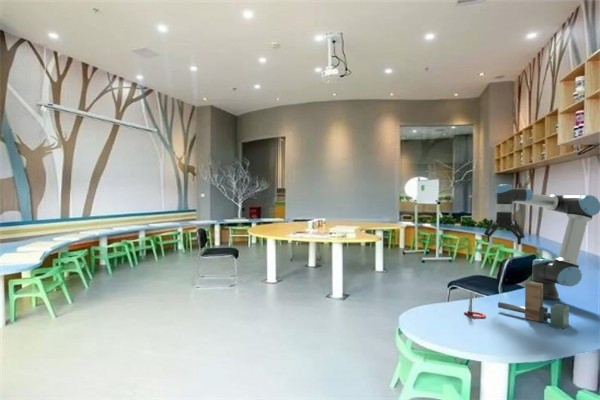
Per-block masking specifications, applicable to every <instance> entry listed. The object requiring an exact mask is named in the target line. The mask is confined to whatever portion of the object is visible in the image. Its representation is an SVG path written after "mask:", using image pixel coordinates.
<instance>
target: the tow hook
mask: <svg viewBox="0 0 600 400" xmlns="http://www.w3.org/2000/svg"><path fill="white" fill-rule="evenodd" d="M468 300H469V303H468V310H467V312H466V311H464V312H463V314H464V315H465V316H467V317H470V318H471V319H474V320H475V319H486V318H487V315H486V314H485V313H482V312H479V311H473V291H472V290H471V291H470V294H469V299H468Z"/></svg>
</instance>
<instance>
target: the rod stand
mask: <svg viewBox="0 0 600 400" xmlns="http://www.w3.org/2000/svg"><path fill="white" fill-rule="evenodd" d="M497 307H498V308H499V309H502V310H503V309H504V310H507V311H513V312H517V313H520V314H525V306H519V305H515V304H511V303H506V302H501V301H499V302H498V303H497ZM545 318H547V319H548V320H549V321H550V325H549V326H550V327H551V328H555V329H560V330H565V329H566V328H567V327H568V326H569V324H570V322H569V321H570V320H569V319H570V306H569V305H566V304H561V303H554V304H553V305H552V306H550V312H549V311H548V312H545Z"/></svg>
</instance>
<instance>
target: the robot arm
mask: <svg viewBox="0 0 600 400" xmlns="http://www.w3.org/2000/svg"><path fill="white" fill-rule="evenodd" d="M493 195H494V199H495V200H496V219H490V220H489V224H488V226H487V227H486V229H485V231H484V233H483V234H484V235H485V236H487V242H488V245H489V246H488V248H490V249H491V248H493V243H494V242H493V238H494V237H493V234H494V233H495V232H497V230H499V228H500V229H508V230H510V232H511V233H512V234H513V235H514V236H515V237H516V238H515V251H519V249H520V245H521V243H522V241H521V240H522V239H524V238H525V237H526V236H525V234H524V232H523V230H522V229H521V226H520V225H519V224H520V223H519V221H518V220H512V219H513V214H512V211H513V207H512V206H513V203H514V204H521V205H527V206H534V207H539V208H545V209H546V210H548V211H554V212H557V213H562V214H566V216H567V217H568V221H567V224H566V228H565V231H564V236H563V239H562V243H561V246H560V251H559V253H558V256H557V257H556V258H554V259H549V258H547V259H546V258H545V259H543V258H538V259H533V260H532V265H531V266H532V267H531V268H532V269H531V270H532V273H531V274H532V275H531V276H532V281H531V282H536V283H542V284H543V300H551V301H552V300H553V301H554V300H559V299H560V298H559V297H560V296H559V291H558V289H557V287H556V284H558V285H560V286H563V287H569V288H570V287H574V286H576V285H578V284H579V283H580V281H581V280H582V278H583V273H582V271H581V270H580V268H579V266H580V265H579V264H578V262H577V261H578V258H579V255H580V250H581V247H582V243H583V240H584V236H585V232H586V229H587V228H586V227H587V225H588V222H590V221H592V219H593V216H596V215H598V214H599V213H600V201H599V199H598V198H597V197H596V196H594V195H591V194H584V193H583V194H566V195H565V194H563V195H562V194H561V195H558V194H557V195H556V194H550V195H545V194H539V193H534V192H533V190H532V189H531V188H526V187H518V188H517V187H516V188H515V187H513V185H512V184H497V187H496V190H495V191H494V194H493ZM495 223H496V225H495V227H494V228H492V227H493V226H494V224H495ZM512 224H513V225H514V226H515V228H514V227H513V226H512ZM491 229H492V230H491ZM515 229H516V230H515Z"/></svg>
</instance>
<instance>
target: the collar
mask: <svg viewBox="0 0 600 400" xmlns="http://www.w3.org/2000/svg"><path fill="white" fill-rule="evenodd" d="M548 310H549V307H546V306H543V307H542V308H540V309H539V321H538V322H541V323H545V322H547V321H548V320H549V319H547V318H545V312H549V311H548Z"/></svg>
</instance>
